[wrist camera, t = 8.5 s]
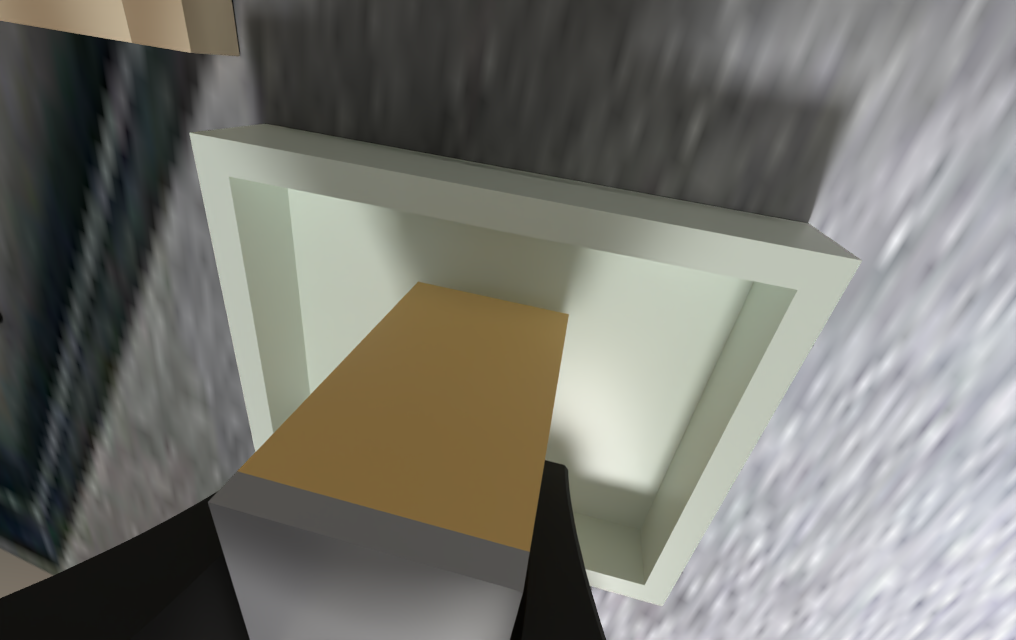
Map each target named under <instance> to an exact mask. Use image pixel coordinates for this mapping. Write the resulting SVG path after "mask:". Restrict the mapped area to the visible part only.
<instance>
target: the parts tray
mask: <svg viewBox="0 0 1016 640" xmlns="http://www.w3.org/2000/svg"><path fill="white" fill-rule="evenodd" d="M189 134H190V138H191V143H192V148H193V153H194V158H195V163H196V167H197V172H198V177H199V182H200V187H201V192H202V196H203V201H204V206H205V211H206V216H207V221H208V225H209V230H210V235H211V240H212V245H213V250H214V254H215V259H216V264H217V269H218V274H219V279H220V283H221V288H222V293H223V298H224V303H225V308H226V312H227V317H228V322H229V327H230V332H231V337H232V341H233V346H234V351H235V356H236V361H237V366H238V370H239V375H240V380H241V385H242V390H243V395H244V399H245V404H246V409H247V414H248V419H249V424H250V428H251V433H252V438H253V443H254V448H255V452H256V451H257V450H258V449H259V448H260V447H261V446H262V445H263V444H264V443H265V442H266V441H267V440H268V439H269V437H270V436H271V435H272V434H273V433H274V432H275V431H276V430H277V429H278V428H279V427H280V426H281V425H282V424H283V423H284V422H285V421H286V420H287V419H288V418H289V417H290V415H291V414H292V413H293V412H294V411H295V410H296V409H297V408H298V407H299V406H300V405H301V404H302V403H303V402H304V401H305V400H306V399H307V398H308V397H309V396H310V394H311V393H312V392H313V391H314V390H315V389H316V388H317V387H318V386H319V385H320V384H321V383H322V382H323V381H324V380H325V379H326V378H327V377H328V376H329V375H330V373H331V372H332V371H333V370H334V369H335V368H336V367H337V366H338V365H339V364H340V363H341V362H342V361H343V360H344V359H345V358H346V357H347V356H348V355H349V354H350V353H351V351H352V350H353V349H354V348H355V347H356V346H357V345H358V344H359V343H360V342H361V341H362V340H363V339H364V338H365V337H366V336H367V335H368V334H369V333H370V332H371V330H372V329H373V328H374V327H375V326H376V325H377V324H378V323H379V322H380V321H381V320H382V319H383V318H384V317H385V316H386V315H387V314H388V313H389V312H390V311H391V310H392V308H393V307H394V306H395V305H396V304H397V303H398V302H399V301H400V300H401V299H402V298H403V297H404V296H405V295H406V294H407V293H408V292H409V291H410V290H411V289H412V287H413V286H414V285H415V284H416V283H417V282H422V283H427V284H432V285H436V286H441V287H445V288H450V289H455V290H459V291H464V292H469V293H473V294H478V295H482V296H487V297H492V298H496V299H501V300H506V301H510V302H515V303H519V304H524V305H529V306H533V307H538V308H543V309H547V310H552V311H556V312H561V313H566V314H569V317H568V323H567V329H566V335H565V341H564V347H563V354H562V360H561V366H560V372H559V378H558V384H557V390H556V396H555V402H554V408H553V414H552V420H551V426H550V432H549V438H548V444H547V450H546V456H545V460H547V461H551V462H555V463H559V464H563V465H565V466H566V468H567V469H568V477H569V489H570V497H571V503H572V510H573V515H574V521H575V526H576V531H577V536H578V540H579V544H580V549H581V553H582V557H583V561H584V565H585V570H586V573H587V577H588V581H589V585H590V586H592V587H595V588H599V589H602V590H606V591H610V592H613V593H617V594H620V595H624V596H627V597H631V598H635V599H638V600H642V601H645V602H649V603H652V604H656V605H660V606H663V604H664V602H665V601H666V599H667V597H668V596H669V594H670V592H671V590H672V589H673V587H674V585H675V583H676V582H677V580H678V578H679V577H680V575H681V573H682V571H683V570H684V568H685V566H686V564H687V563H688V561H689V559H690V557H691V556H692V554H693V552H694V551H695V549H696V547H697V545H698V544H699V542H700V540H701V538H702V537H703V535H704V533H705V532H706V530H707V528H708V526H709V525H710V523H711V521H712V519H713V518H714V516H715V514H716V512H717V511H718V509H719V507H720V506H721V504H722V502H723V500H724V499H725V497H726V495H727V493H728V492H729V490H730V488H731V487H732V485H733V483H734V481H735V480H736V478H737V476H738V474H739V473H740V471H741V469H742V467H743V466H744V464H745V462H746V461H747V459H748V457H749V455H750V454H751V452H752V450H753V448H754V447H755V445H756V443H757V442H758V440H759V438H760V436H761V435H762V433H763V431H764V429H765V428H766V426H767V424H768V422H769V421H770V419H771V417H772V416H773V414H774V412H775V410H776V409H777V407H778V405H779V403H780V402H781V400H782V398H783V397H784V395H785V393H786V391H787V390H788V388H789V386H790V384H791V383H792V381H793V379H794V378H795V376H796V374H797V372H798V371H799V369H800V367H801V365H802V364H803V362H804V360H805V358H806V357H807V355H808V353H809V352H810V350H811V348H812V346H813V345H814V343H815V341H816V339H817V338H818V336H819V334H820V333H821V331H822V329H823V327H824V326H825V324H826V322H827V320H828V319H829V317H830V315H831V313H832V312H833V310H834V308H835V307H836V305H837V303H838V301H839V300H840V298H841V296H842V294H843V293H844V291H845V289H846V288H847V286H848V284H849V282H850V281H851V279H852V277H853V275H854V274H855V272H856V270H857V268H858V267H859V265H860V263H861V262H862V260H861V259H859V258H858V257H856V256H855V255H853V254H852V253H850V252H849V251H848V250H846V249H845V248H843V247H842V246H840V245H839V244H838V243H836V242H835V241H833V240H832V239H830V238H829V237H827V236H826V235H825V234H823V233H822V232H820V231H819V230H817V229H816V228H815V227H813V226H812V225H810V224H809V223H803V222H798V221H792V220H787V219H781V218H776V217H770V216H765V215H760V214H754V213H749V212H743V211H738V210H732V209H727V208H722V207H716V206H711V205H705V204H700V203H694V202H689V201H684V200H678V199H673V198H667V197H662V196H656V195H651V194H645V193H640V192H635V191H629V190H624V189H618V188H613V187H607V186H602V185H597V184H591V183H586V182H580V181H575V180H569V179H564V178H559V177H553V176H548V175H542V174H537V173H531V172H526V171H520V170H515V169H510V168H504V167H499V166H493V165H488V164H482V163H477V162H472V161H466V160H461V159H455V158H450V157H444V156H439V155H434V154H428V153H423V152H417V151H412V150H406V149H401V148H395V147H390V146H385V145H379V144H374V143H368V142H363V141H357V140H352V139H347V138H341V137H336V136H330V135H325V134H319V133H314V132H309V131H303V130H298V129H292V128H287V127H281V126H276V125H270V124H258V125H250V126H242V127H233V128H225V129H216V130H208V131H199V132H191V133H189Z"/></svg>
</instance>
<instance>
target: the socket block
mask: <svg viewBox="0 0 1016 640" xmlns="http://www.w3.org/2000/svg"><path fill="white" fill-rule="evenodd" d="M0 21H6V22H12V23H18V24H24V25H30V26H36V27H42V28H48V29H54V30H59V31H65V32H71V33H77V34H83V35H89V36H95V37H101V38H107V39H113V40H119V41H125V42H130V43H136V44H142V45H148V46H154V47H160V48H166V49H172V50H178V51H184V52H190V53H201V54H215V55H229V56H240V55H239V48H238V41H237V34H236V27H235V20H234V13H233V6H232V0H0Z"/></svg>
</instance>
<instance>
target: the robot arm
mask: <svg viewBox="0 0 1016 640" xmlns="http://www.w3.org/2000/svg"><path fill="white" fill-rule="evenodd" d="M217 492H218V491H217ZM217 492H216V493H217ZM216 493H214V494H212V495H211V496H209V497H208V498H206V499H204V500H202V501H201V502H199V503H197V504H195V505H194V506H192V507H190V508H188V509H187V510H185V511H183V512H181V513H180V514H178V515H176V516H174V517H172V518H170V519H169V520H167V521H165V522H163V523H161V524H159V525H157V526H155V527H153V528H152V529H150V530H148V531H146V532H144V533H142V534H140V535H138V536H136V537H134V538H132V539H130V540H128V541H126V542H124V543H122V544H120V545H118V546H116V547H114V548H112V549H110V550H107V551H105V552H103V553H101V554H99V555H97V556H95V557H92V558H90V559H88V560H86V561H84V562H82V563H80V564H77V565H75V566H73V567H71V568H69V569H67V570H65V571H63V572H60V573H58V574H56V575H54V576H52V577H50V578H47V579H45V580H43V581H40V582H38V583H36V584H33V585H31V586H29V587H26V588H24V589H21V590H19V591H16V592H14V593H12V594H10V595H7V596H5V597H2V598H0V640H250V638H249V635H248V632H247V628H246V625H245V622H244V619H243V615H242V612H241V609H240V605H239V602H238V599H237V596H236V592H235V589H234V586H233V583H232V579H231V576H230V573H229V570H228V566H227V563H226V560H225V556H224V553H223V550H222V547H221V543H220V540H219V537H218V534H217V530H216V527H215V524H214V521H213V517H212V514H211V511H210V507H209V504H208V501H209V500H210V499H211V498H212V497H213V496H214V495H215V494H216ZM510 640H606V638H605V635H604V631H603V628H602V625H601V622H600V619H599V616H598V612H597V609H596V605H595V602H594V599H593V595H592V592H591V588H590V585H589V581H588V577H587V573H586V570H585V565H584V561H583V557H582V553H581V549H580V544H579V540H578V536H577V531H576V526H575V521H574V515H573V510H572V503H571V497H570V489H569V477H568V469H567V468H566V466H565V465H563V464H559V463H555V462H551V461H547V460H545V462H544V469H543V475H542V481H541V487H540V493H539V499H538V505H537V511H536V517H535V523H534V529H533V535H532V541H531V547H530V553H529V559H528V565H527V571H526V577H525V584H524V590H523V594H522V598H521V601H520V605H519V609H518V612H517V616H516V619H515V623H514V627H513V630H512V634H511V637H510Z"/></svg>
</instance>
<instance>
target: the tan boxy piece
mask: <svg viewBox="0 0 1016 640" xmlns="http://www.w3.org/2000/svg"><path fill="white" fill-rule="evenodd" d="M568 317H569V314H566V313H561V312H556V311H552V310H547V309H543V308H538V307H533V306H529V305H524V304H519V303H515V302H510V301H506V300H501V299H496V298H492V297H487V296H482V295H478V294H473V293H469V292H464V291H459V290H455V289H450V288H445V287H441V286H436V285H432V284H427V283H422V282H417V283H416V284H415V285H414V286H413V287H412V289H411V290H410V291H409V292H408V293H407V294H406V295H405V296H404V297H403V298H402V299H401V300H400V301H399V302H398V303H397V304H396V305H395V306H394V307H393V308H392V310H391V311H390V312H389V313H388V314H387V315H386V316H385V317H384V318H383V319H382V320H381V321H380V322H379V323H378V324H377V325H376V326H375V327H374V328H373V329H372V330H371V332H370V333H369V334H368V335H367V336H366V337H365V338H364V339H363V340H362V341H361V342H360V343H359V344H358V345H357V346H356V347H355V348H354V349H353V350H352V351H351V353H350V354H349V355H348V356H347V357H346V358H345V359H344V360H343V361H342V362H341V363H340V364H339V365H338V366H337V367H336V368H335V369H334V370H333V371H332V372H331V373H330V375H329V376H328V377H327V378H326V379H325V380H324V381H323V382H322V383H321V384H320V385H319V386H318V387H317V388H316V389H315V390H314V391H313V392H312V393H311V394H310V396H309V397H308V398H307V399H306V400H305V401H304V402H303V403H302V404H301V405H300V406H299V407H298V408H297V409H296V410H295V411H294V412H293V413H292V414H291V415H290V417H289V418H288V419H287V420H286V421H285V422H284V423H283V424H282V425H281V426H280V427H279V428H278V429H277V430H276V431H275V432H274V433H273V434H272V435H271V436H270V437H269V439H268V440H267V441H266V442H265V443H264V444H263V445H262V446H261V447H260V448H259V449H258V450H257V451H256V452H255V453H254V454H253V455H252V456H251V457H250V458H249V460H248V461H247V462H246V463H245V464H244V465H243V466H242V467H241V468H240V469H239V470H238V471H237V472H236V473H235V474H234V475H233V476H232V477H231V478H230V479H229V481H228V482H227V483H226V484H225V485H224V486H223V487H222V488H221V489H220V490H219V491H218V492H217V493H216V494H215V495H214V496H213V497H212V498H211V499H210V500H209V501H208V504H209V507H210V511H211V514H212V517H213V521H214V524H215V527H216V530H217V534H218V537H219V540H220V543H221V547H222V550H223V553H224V556H225V560H226V563H227V566H228V570H229V573H230V576H231V579H232V583H233V586H234V589H235V592H236V596H237V599H238V602H239V605H240V609H241V612H242V615H243V619H244V622H245V625H246V628H247V632H248V635H249V638H250V640H510V637H511V634H512V630H513V627H514V623H515V619H516V616H517V612H518V609H519V605H520V601H521V598H522V594H523V590H524V584H525V577H526V571H527V565H528V559H529V553H530V547H531V541H532V535H533V529H534V523H535V517H536V511H537V505H538V499H539V493H540V487H541V481H542V475H543V469H544V462H545V456H546V450H547V444H548V438H549V432H550V426H551V420H552V414H553V408H554V402H555V396H556V390H557V384H558V378H559V372H560V366H561V360H562V354H563V347H564V341H565V335H566V329H567V323H568Z"/></svg>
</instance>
